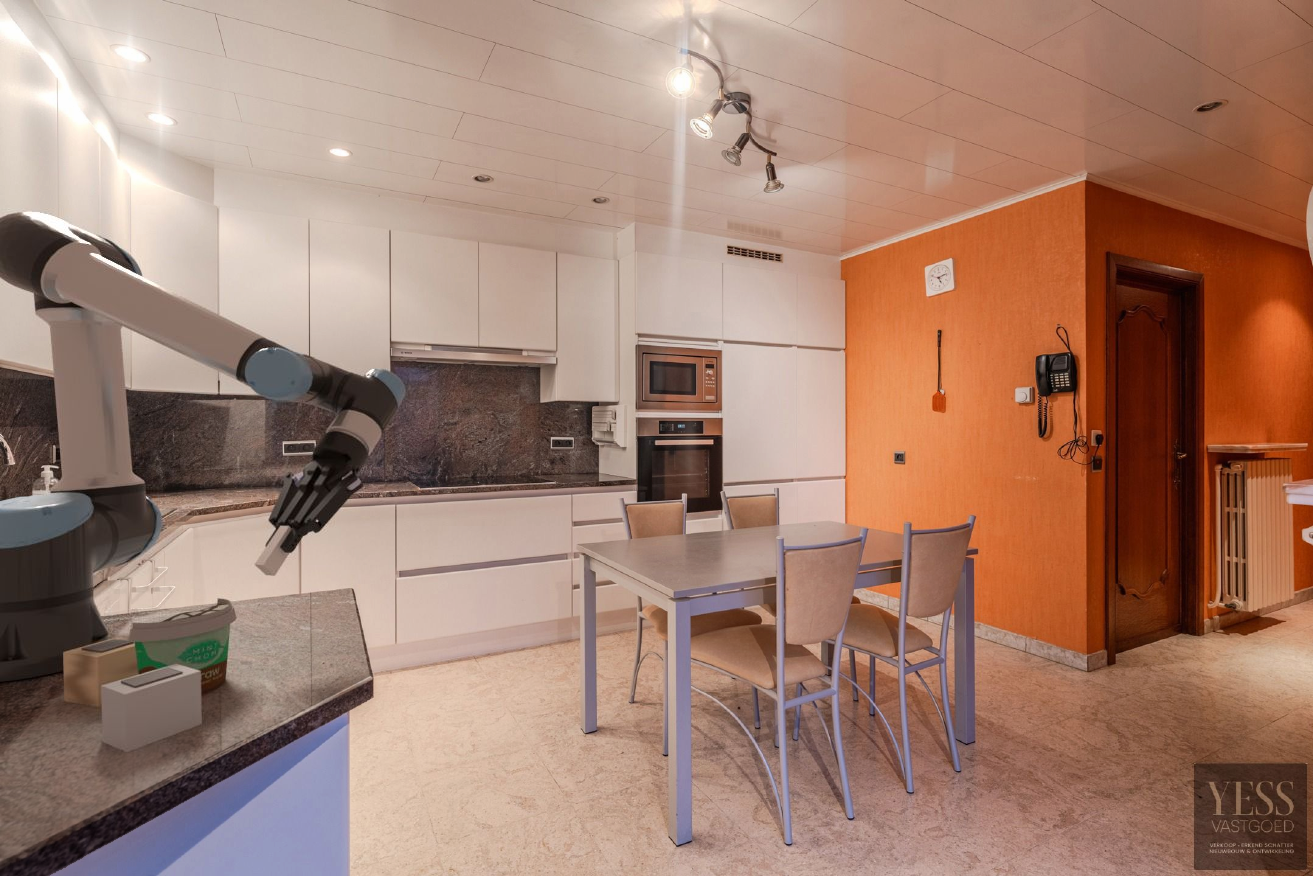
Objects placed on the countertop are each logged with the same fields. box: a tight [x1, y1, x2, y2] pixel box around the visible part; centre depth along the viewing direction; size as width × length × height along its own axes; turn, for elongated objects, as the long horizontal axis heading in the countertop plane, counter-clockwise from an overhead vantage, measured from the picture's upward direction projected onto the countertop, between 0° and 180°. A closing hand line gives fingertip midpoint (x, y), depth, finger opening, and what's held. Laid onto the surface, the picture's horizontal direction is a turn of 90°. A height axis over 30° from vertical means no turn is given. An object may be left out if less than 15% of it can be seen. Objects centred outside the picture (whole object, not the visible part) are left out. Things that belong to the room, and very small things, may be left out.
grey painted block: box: [101, 664, 203, 753], centre depth 69 cm, size 5×7×6 cm
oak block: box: [63, 636, 139, 708], centre depth 80 cm, size 6×6×6 cm
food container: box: [128, 597, 238, 696], centre depth 81 cm, size 12×6×10 cm, turn 166°
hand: (264, 570), depth 89 cm, fingers closed
